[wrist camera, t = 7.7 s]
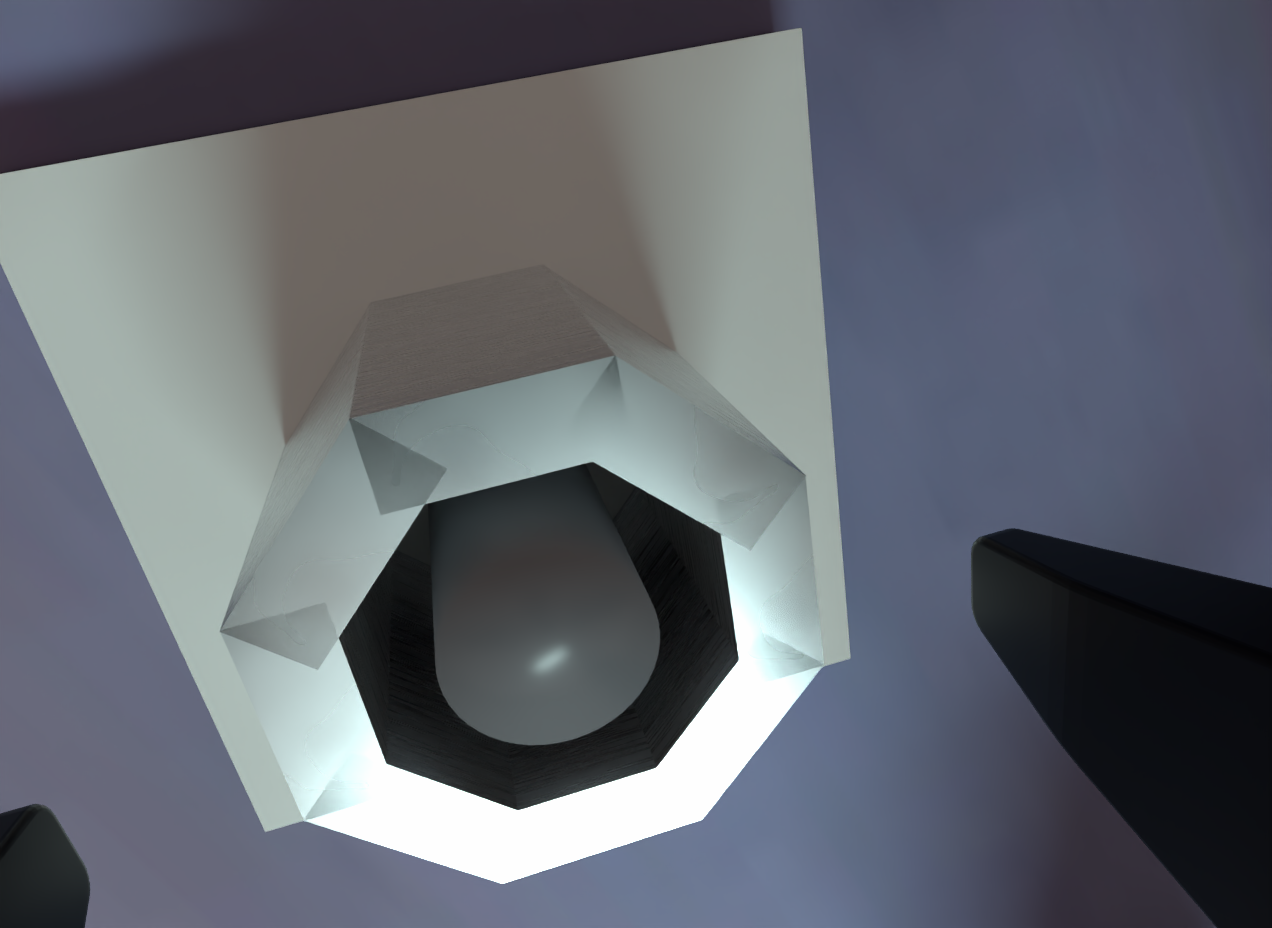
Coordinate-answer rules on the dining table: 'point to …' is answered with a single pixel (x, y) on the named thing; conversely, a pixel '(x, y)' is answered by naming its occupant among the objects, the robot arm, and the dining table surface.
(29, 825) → the robot arm
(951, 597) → the dining table surface
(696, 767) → the grey hollow octagonal cylinder
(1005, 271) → the dining table surface
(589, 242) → the post fixture
